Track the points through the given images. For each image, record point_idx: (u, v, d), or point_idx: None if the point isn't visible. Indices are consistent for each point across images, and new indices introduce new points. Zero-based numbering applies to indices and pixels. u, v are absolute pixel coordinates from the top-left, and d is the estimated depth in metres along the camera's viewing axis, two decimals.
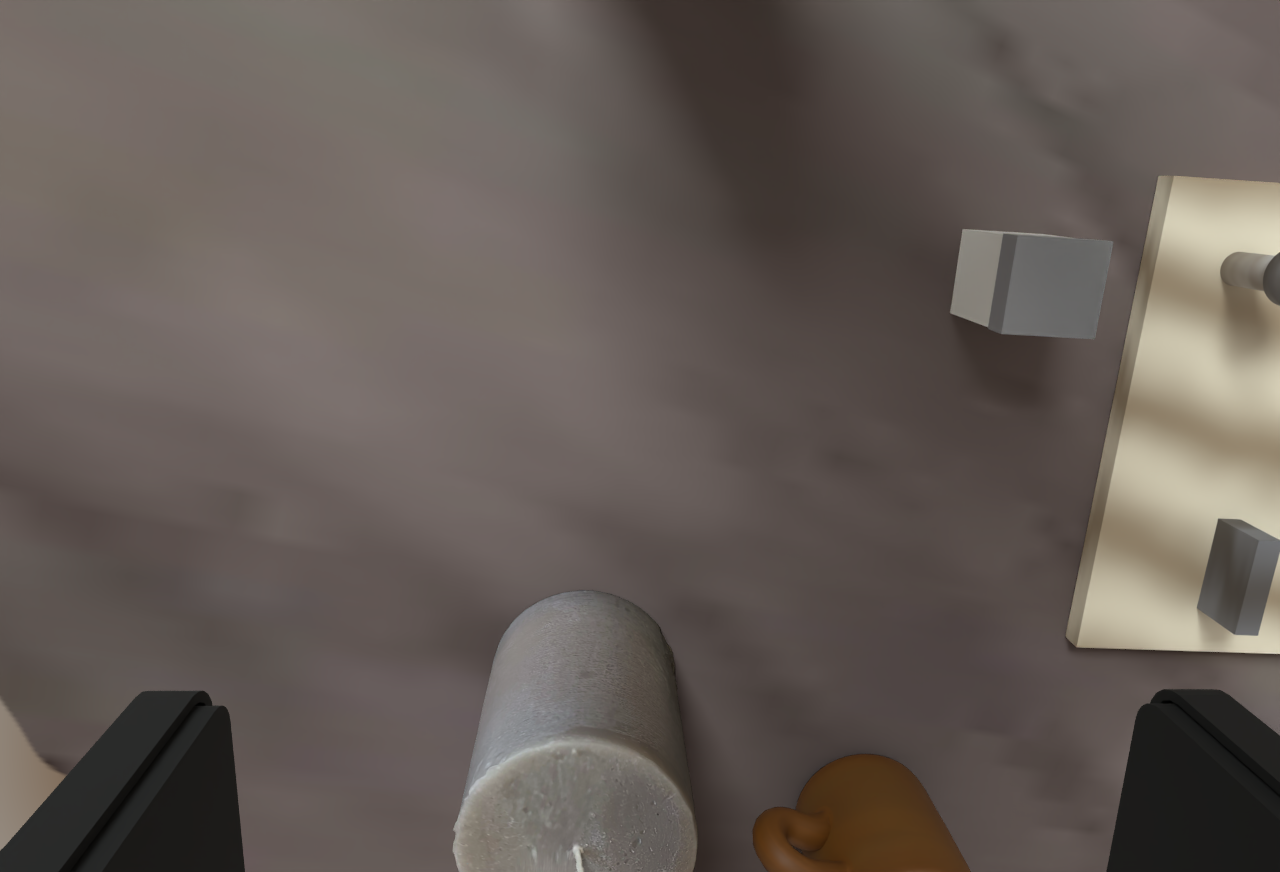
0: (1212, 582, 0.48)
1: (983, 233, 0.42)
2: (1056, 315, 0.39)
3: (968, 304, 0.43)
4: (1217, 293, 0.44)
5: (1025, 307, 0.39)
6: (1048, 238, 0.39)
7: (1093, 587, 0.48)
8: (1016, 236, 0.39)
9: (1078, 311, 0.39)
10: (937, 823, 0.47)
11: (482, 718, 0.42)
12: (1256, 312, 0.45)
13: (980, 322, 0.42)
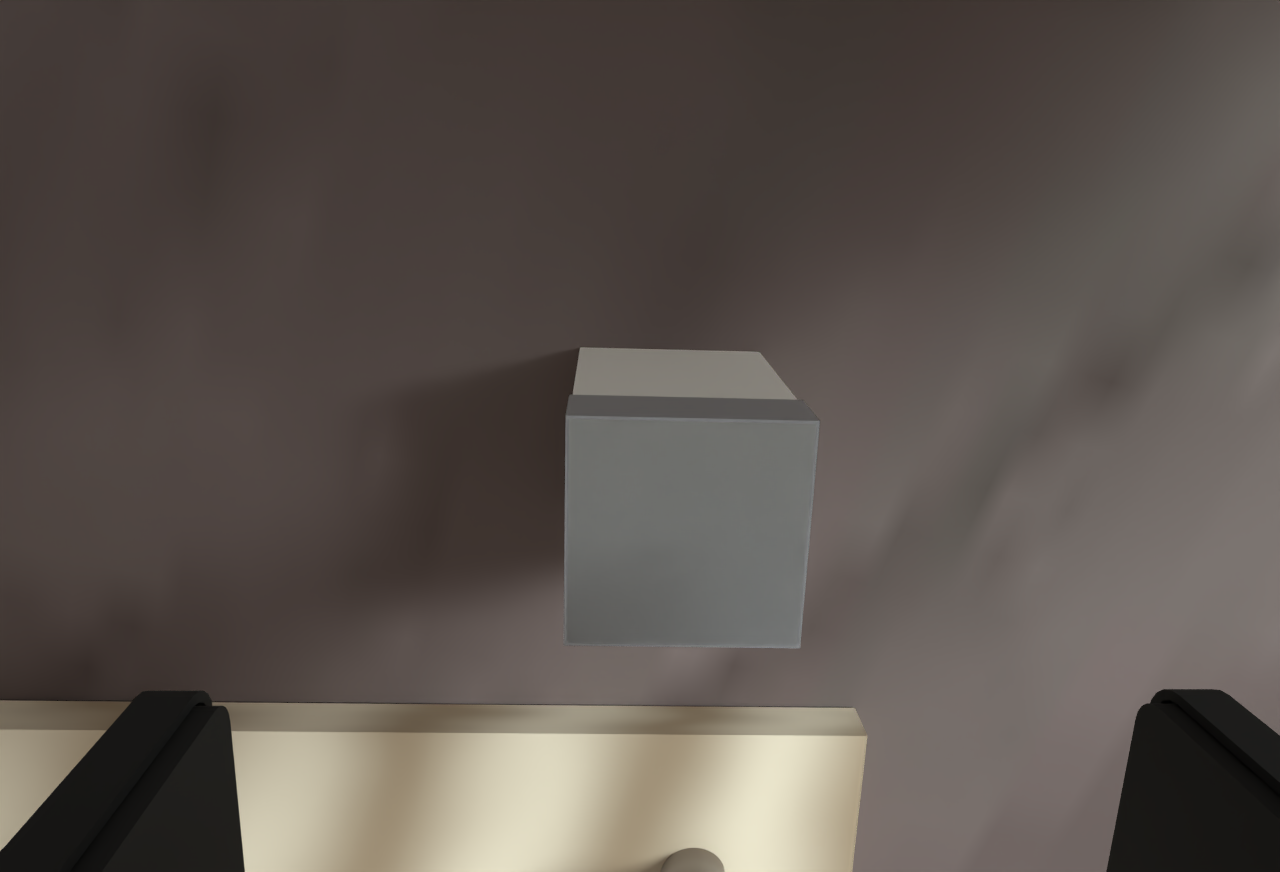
0: None
1: (774, 376, 0.18)
2: (619, 546, 0.16)
3: (610, 367, 0.19)
4: (645, 851, 0.23)
5: (637, 467, 0.15)
6: (810, 497, 0.15)
7: None
8: (816, 418, 0.15)
9: (631, 597, 0.16)
10: None
11: None
12: None
13: (579, 384, 0.17)
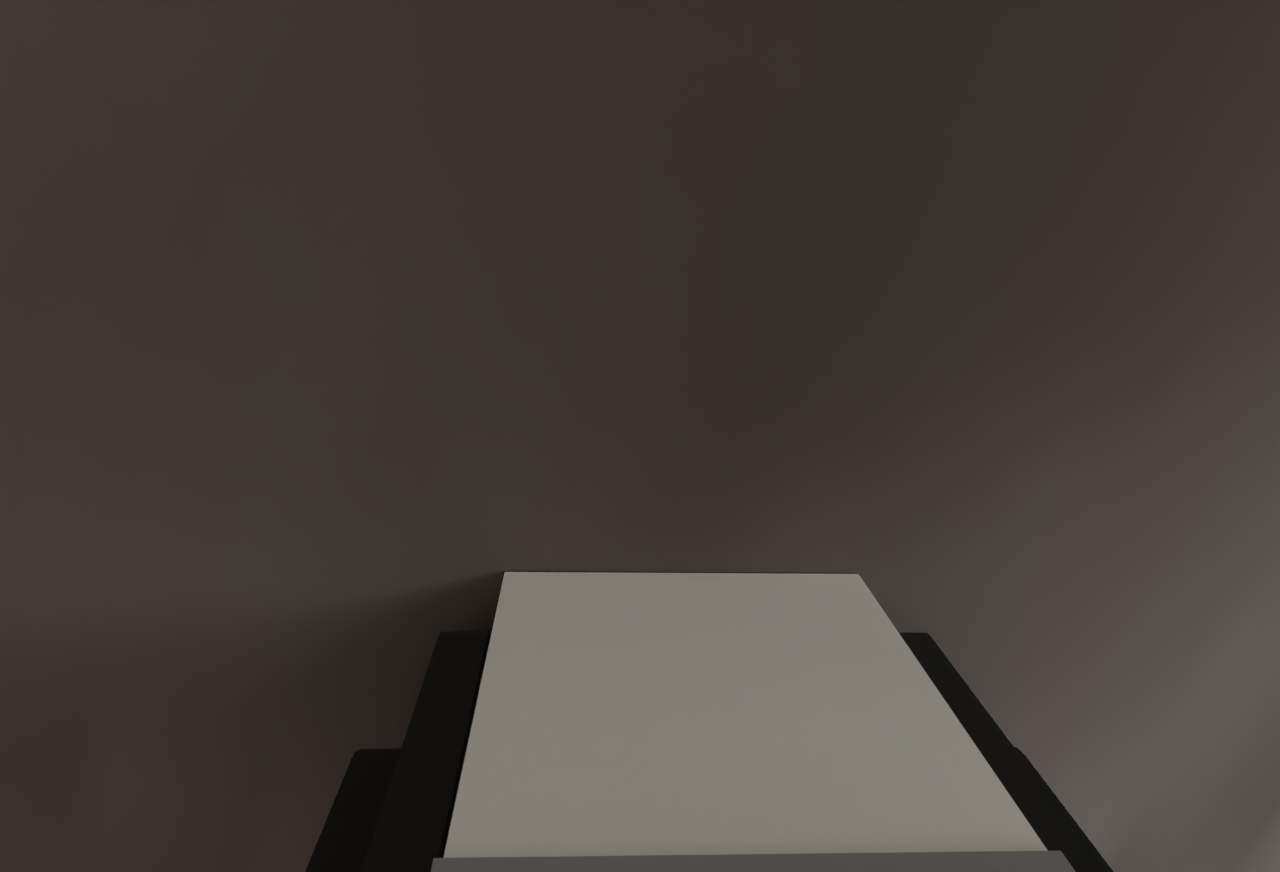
0: None
1: (926, 686, 0.08)
2: None
3: (559, 662, 0.08)
4: None
5: None
6: None
7: None
8: None
9: None
10: None
11: None
12: None
13: (473, 772, 0.07)
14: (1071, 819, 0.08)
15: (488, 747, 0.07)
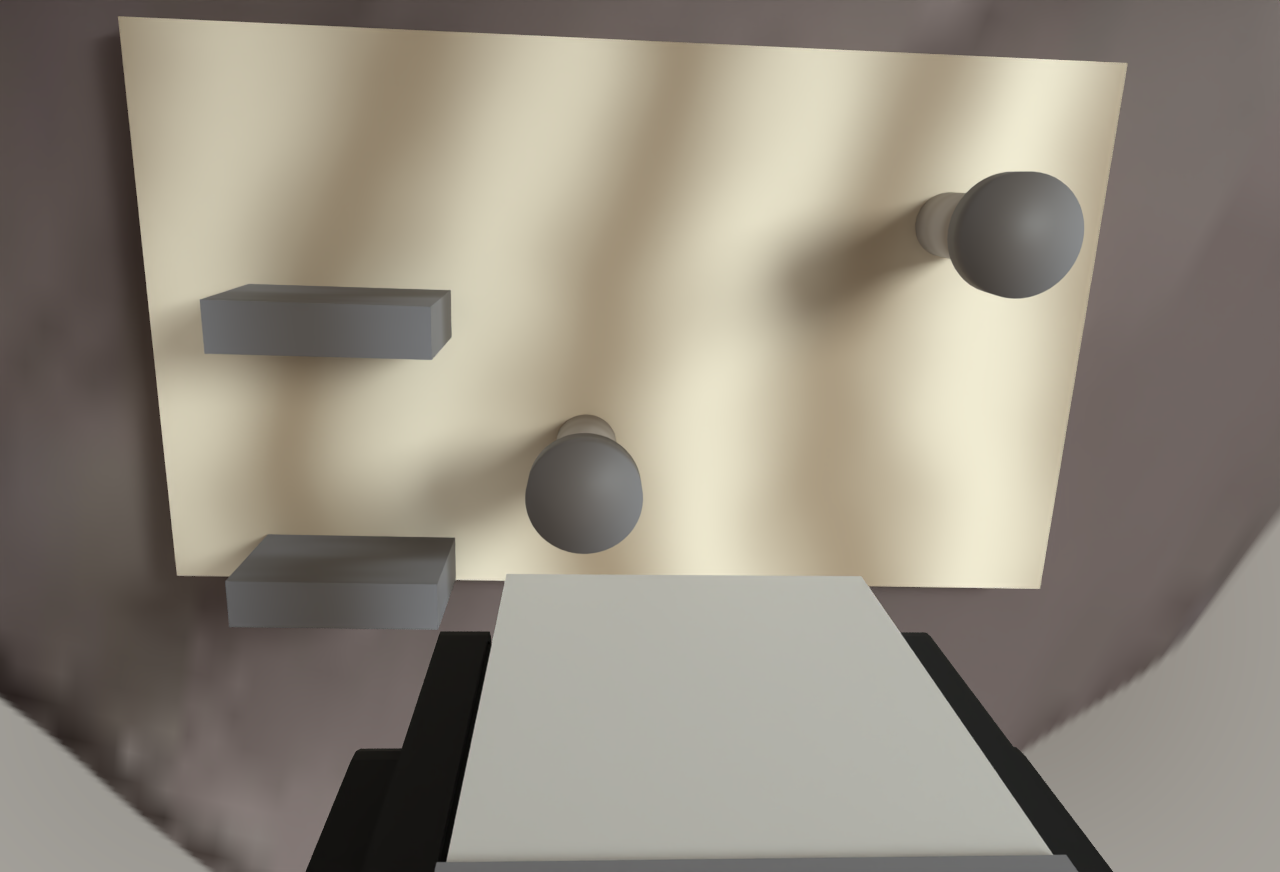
0: (312, 289, 0.23)
1: (930, 689, 0.08)
2: None
3: (561, 665, 0.08)
4: (903, 195, 0.23)
5: None
6: None
7: (269, 34, 0.22)
8: None
9: None
10: None
11: None
12: (863, 280, 0.24)
13: (476, 776, 0.07)
14: (1071, 819, 0.08)
15: (491, 750, 0.07)
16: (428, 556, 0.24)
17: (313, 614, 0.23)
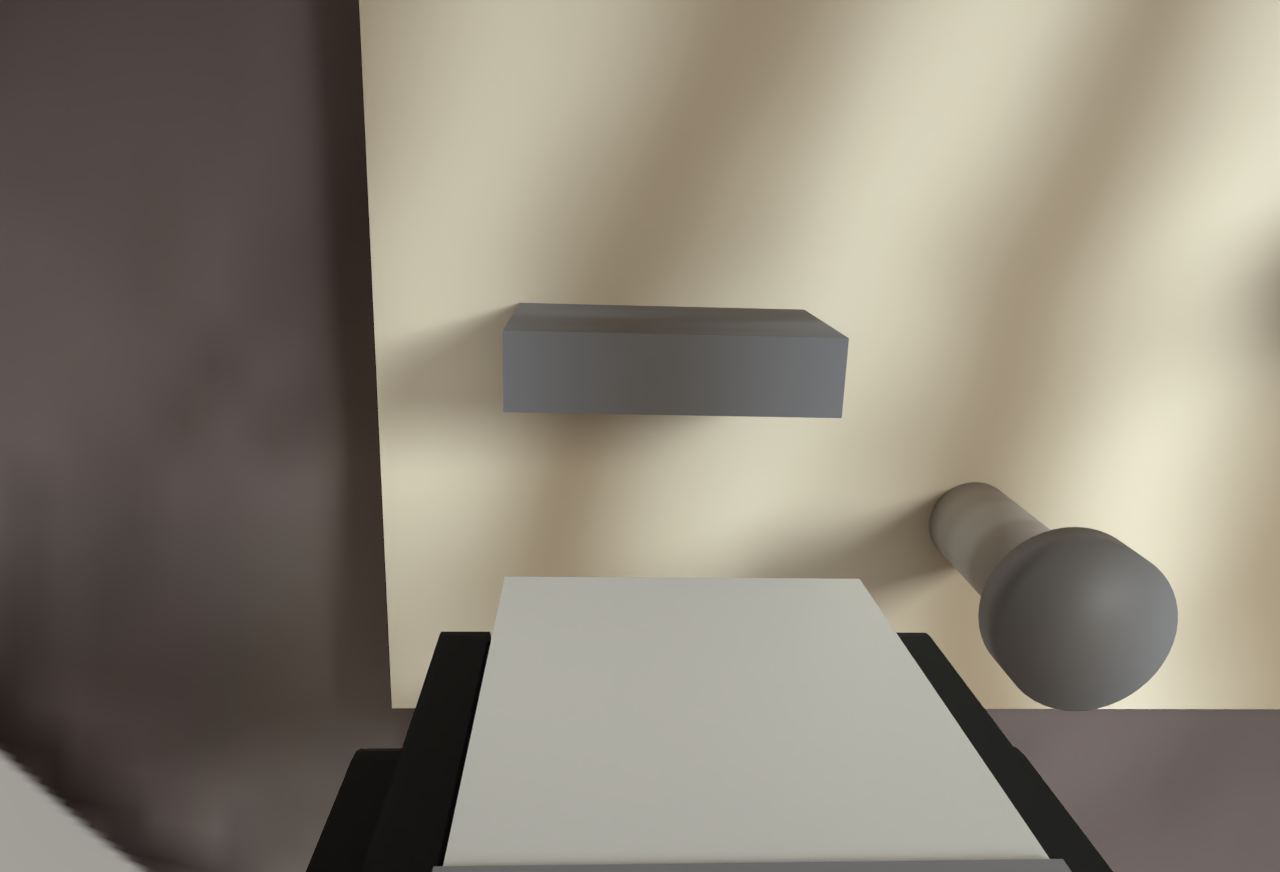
0: (621, 311, 0.16)
1: (927, 692, 0.08)
2: None
3: (559, 667, 0.08)
4: None
5: None
6: None
7: None
8: None
9: None
10: None
11: None
12: None
13: (473, 779, 0.07)
14: (1070, 819, 0.08)
15: (488, 754, 0.07)
16: None
17: None
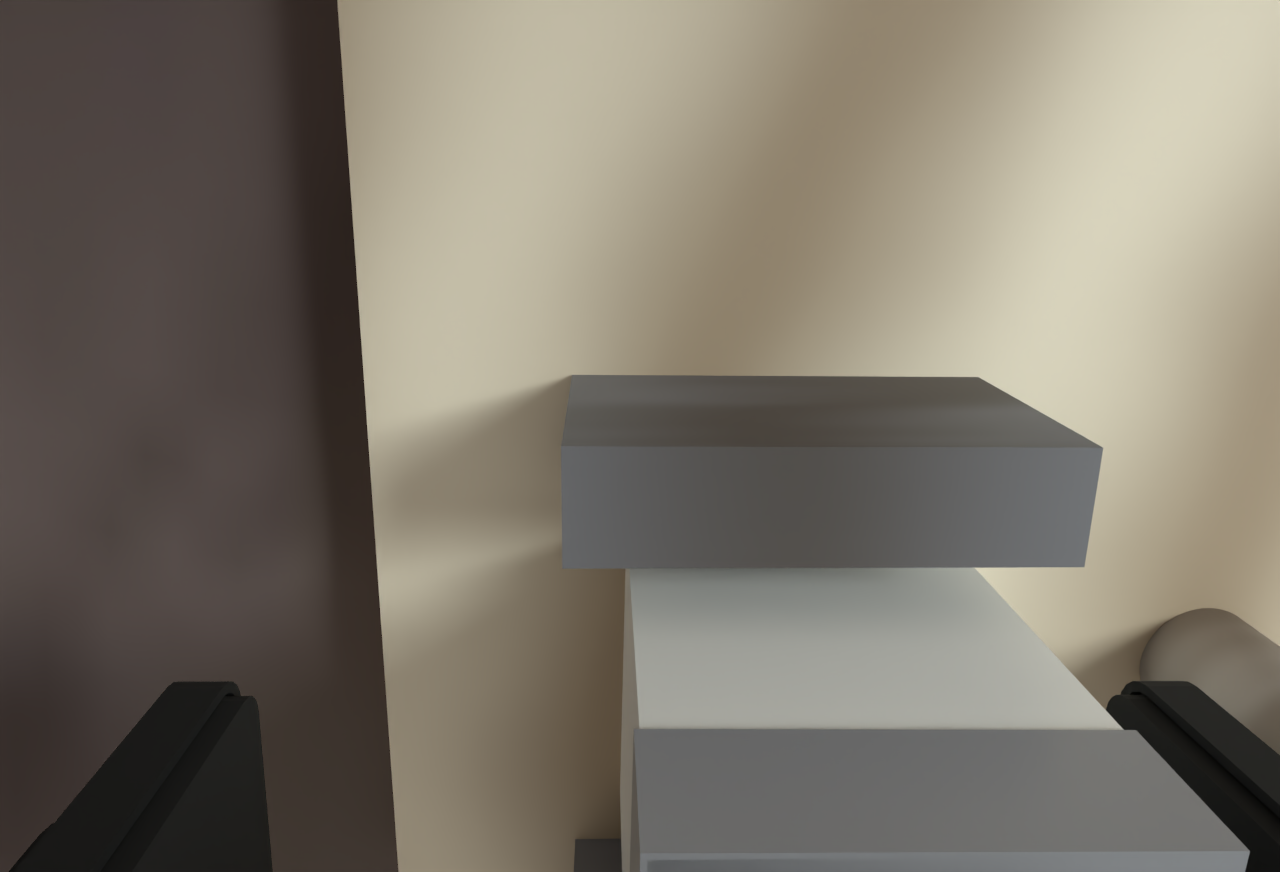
0: (723, 389, 0.11)
1: (1009, 613, 0.10)
2: None
3: (693, 593, 0.10)
4: None
5: None
6: None
7: None
8: (1236, 842, 0.06)
9: None
10: None
11: None
12: None
13: (646, 671, 0.08)
14: None
15: (652, 654, 0.09)
16: None
17: None
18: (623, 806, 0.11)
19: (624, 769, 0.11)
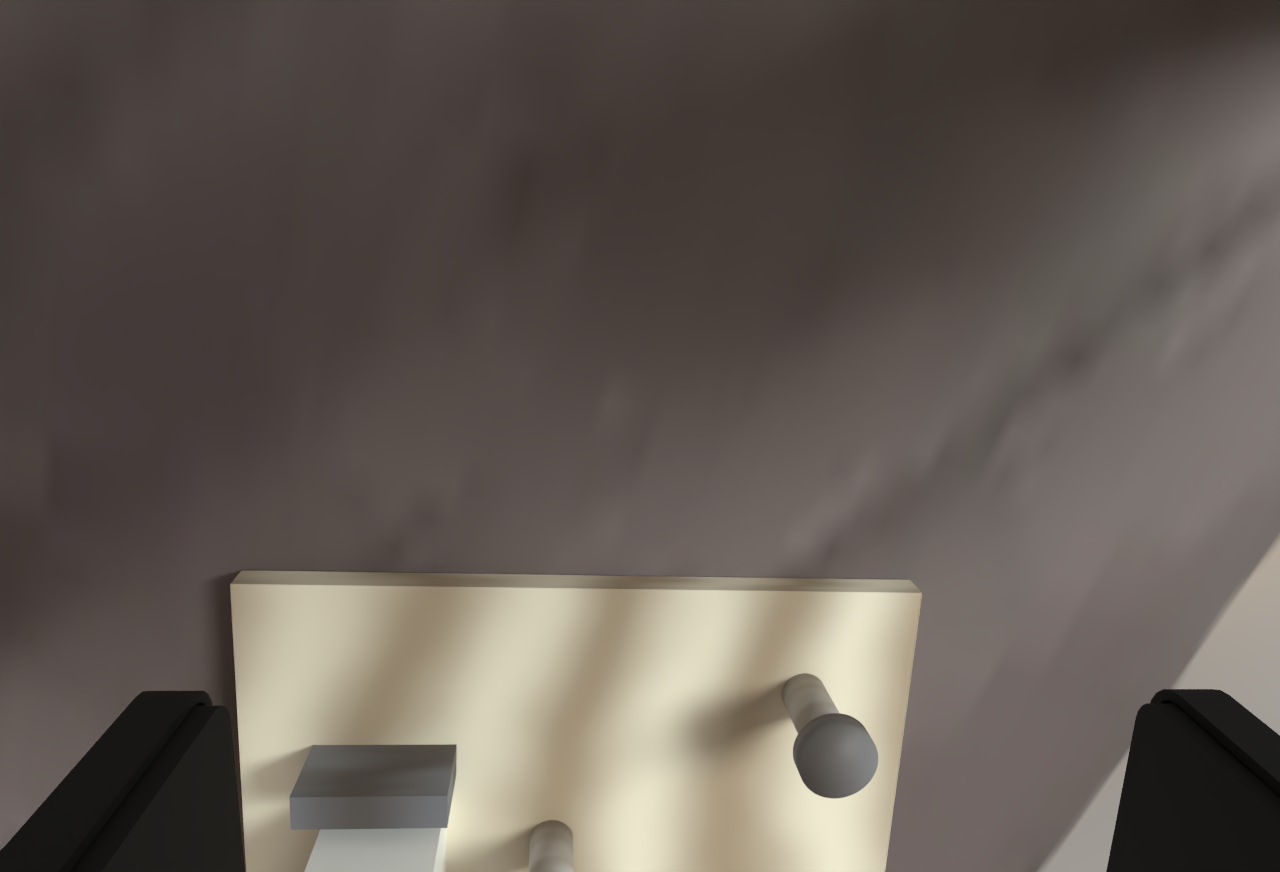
0: (359, 756, 0.32)
1: (437, 837, 0.31)
2: None
3: (340, 829, 0.31)
4: (772, 676, 0.34)
5: None
6: None
7: (335, 592, 0.32)
8: None
9: None
10: None
11: None
12: (746, 729, 0.34)
13: (310, 862, 0.30)
14: None
15: (315, 855, 0.30)
16: None
17: None
18: None
19: None
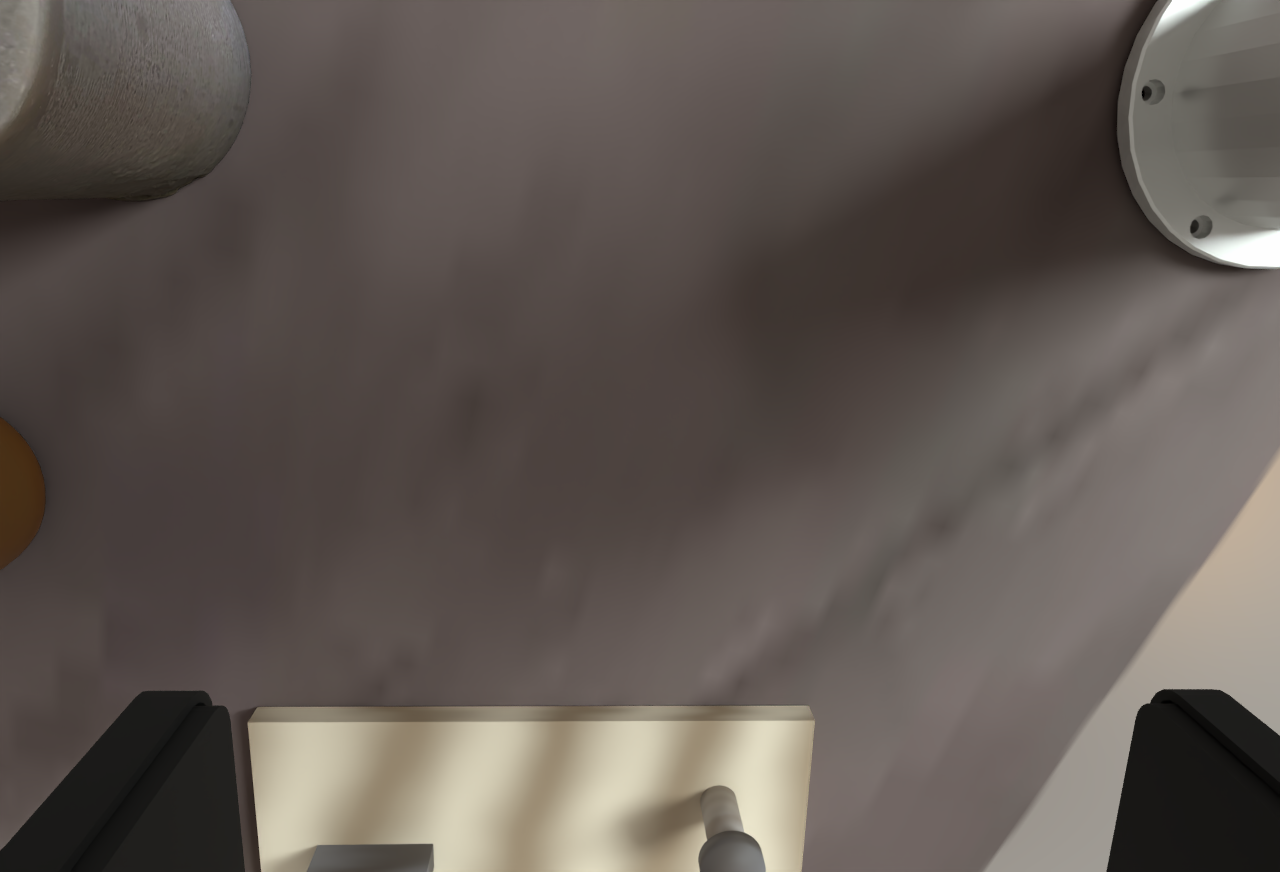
0: (354, 855, 0.40)
1: None
2: None
3: None
4: (691, 788, 0.41)
5: None
6: None
7: (331, 727, 0.39)
8: None
9: None
10: None
11: None
12: (672, 830, 0.41)
13: None
14: None
15: None
16: None
17: None
18: None
19: None
